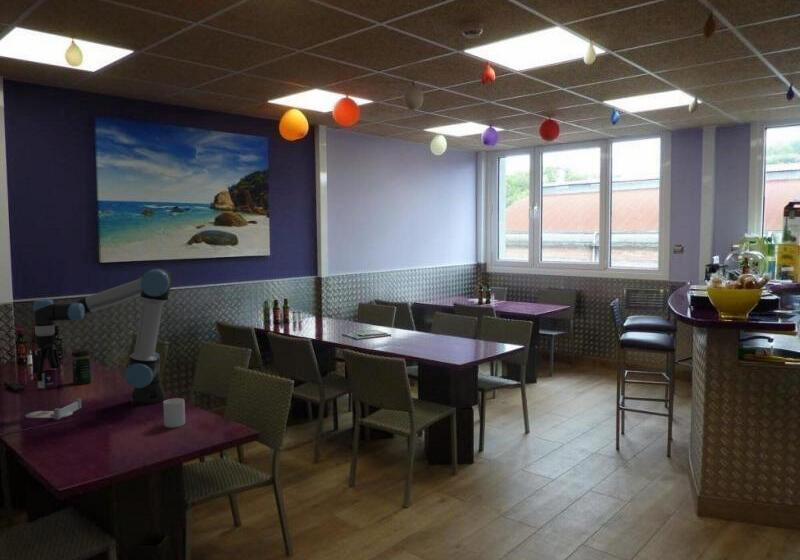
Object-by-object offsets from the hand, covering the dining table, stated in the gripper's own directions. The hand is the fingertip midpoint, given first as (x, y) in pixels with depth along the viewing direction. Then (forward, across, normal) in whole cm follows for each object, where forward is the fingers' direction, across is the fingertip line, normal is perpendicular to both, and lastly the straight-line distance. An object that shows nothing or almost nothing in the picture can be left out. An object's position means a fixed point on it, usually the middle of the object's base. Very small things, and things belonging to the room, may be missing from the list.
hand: (47, 385), depth 264 cm
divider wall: (+13, -2, +8) cm, 15 cm away
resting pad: (+13, 0, 0) cm, 13 cm away
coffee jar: (+14, -56, -18) cm, 60 cm away
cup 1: (+1, -1, 0) cm, 1 cm away
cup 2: (+13, +11, +61) cm, 63 cm away
